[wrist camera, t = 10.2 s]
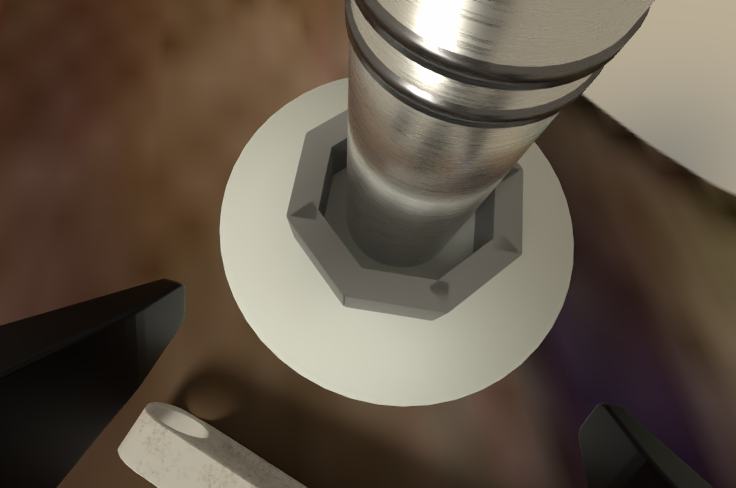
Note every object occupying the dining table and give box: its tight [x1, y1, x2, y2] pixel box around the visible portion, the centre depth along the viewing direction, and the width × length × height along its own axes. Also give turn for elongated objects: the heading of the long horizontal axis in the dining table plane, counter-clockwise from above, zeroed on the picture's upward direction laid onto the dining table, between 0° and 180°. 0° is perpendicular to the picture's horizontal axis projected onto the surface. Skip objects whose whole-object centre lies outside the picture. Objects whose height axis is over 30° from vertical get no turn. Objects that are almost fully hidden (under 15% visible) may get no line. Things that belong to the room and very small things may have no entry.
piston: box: [345, 0, 655, 267], centre depth 12 cm, size 5×5×13 cm
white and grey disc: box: [220, 78, 574, 406], centre depth 17 cm, size 17×17×4 cm
